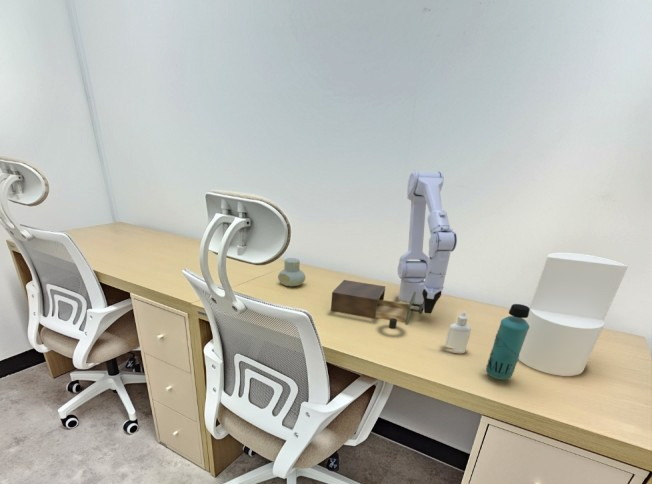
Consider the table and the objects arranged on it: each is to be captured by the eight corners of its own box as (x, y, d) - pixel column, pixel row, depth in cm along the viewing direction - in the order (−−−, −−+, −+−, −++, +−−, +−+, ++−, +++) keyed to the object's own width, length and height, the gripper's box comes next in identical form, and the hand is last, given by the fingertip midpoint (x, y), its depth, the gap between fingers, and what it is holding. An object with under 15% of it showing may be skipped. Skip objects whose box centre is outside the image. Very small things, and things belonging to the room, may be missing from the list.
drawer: (423, 312, 135) (427, 293, 132) (418, 328, 124) (422, 308, 121) (370, 303, 141) (373, 285, 138) (361, 318, 130) (363, 298, 126)
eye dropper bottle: (461, 356, 111) (471, 317, 105) (441, 350, 114) (451, 311, 108) (466, 351, 114) (477, 313, 108) (447, 344, 117) (457, 307, 111)
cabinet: (382, 307, 140) (385, 286, 136) (374, 322, 129) (377, 299, 125) (342, 300, 145) (343, 279, 141) (330, 314, 133) (332, 292, 129)
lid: (404, 329, 125) (406, 317, 123) (401, 338, 119) (403, 326, 118) (382, 325, 127) (384, 313, 125) (378, 333, 122) (380, 321, 120)
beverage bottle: (503, 371, 104) (526, 300, 94) (515, 385, 99) (542, 311, 89) (479, 371, 104) (500, 300, 94) (490, 385, 98) (514, 311, 88)
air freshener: (308, 285, 158) (309, 260, 153) (294, 290, 152) (294, 265, 147) (289, 278, 164) (289, 255, 159) (274, 283, 159) (274, 258, 154)
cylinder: (512, 340, 121) (543, 249, 107) (576, 352, 115) (617, 257, 102) (517, 367, 106) (553, 266, 93) (590, 381, 101) (640, 276, 88)
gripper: (425, 263, 128) (417, 302, 135) (420, 276, 116) (412, 318, 123) (448, 266, 126) (439, 306, 133) (445, 280, 114) (435, 322, 121)
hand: (427, 312), depth 128 cm, fingers closed
